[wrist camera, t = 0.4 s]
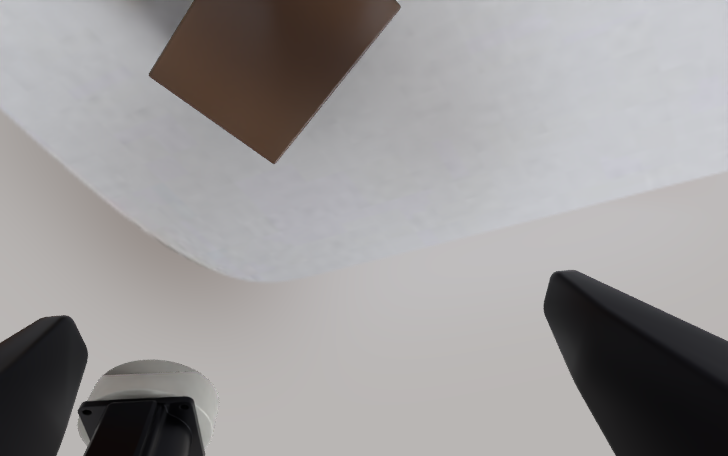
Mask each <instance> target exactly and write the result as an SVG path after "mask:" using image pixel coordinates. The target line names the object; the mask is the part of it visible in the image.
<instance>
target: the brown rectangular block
mask: <svg viewBox="0 0 728 456" xmlns="http://www.w3.org/2000/svg"><path fill="white" fill-rule="evenodd" d="M400 8H401V6H400V4H399V3H398V2H397V1H396V0H194V1H193V3H192V5H191V6H190V8H189V9H188V11H187V13H186V14H185V16H184V18H183V19H182V21H181V22H180V24H179V26H178V27H177V29H176V30H175V32H174V34H173V35H172V37H171V39H170V40H169V42H168V43H167V45H166V47H165V48H164V50H163V52H162V53H161V55H160V56H159V58H158V60H157V61H156V63H155V65H154V66H153V68H152V69H151V71H150V73H149V76H150V77H151V78H152V79H154V80H155V81H156V82H158V83H159V84H161V85H162V86H163V87H165V88H166V89H168V90H169V91H171V92H172V93H173V94H175V95H176V96H178V97H179V98H181V99H182V100H183V101H185V102H186V103H188V104H189V105H190V106H192V107H193V108H195V109H196V110H198V111H199V112H200V113H202V114H203V115H205V116H206V117H208V118H209V119H210V120H212V121H213V122H215V123H216V124H217V125H219V126H220V127H222V128H223V129H225V130H226V131H227V132H229V133H230V134H232V135H233V136H234V137H236V138H237V139H239V140H240V141H242V142H243V143H244V144H246V145H247V146H249V147H250V148H252V149H253V150H254V151H256V152H257V153H259V154H260V155H261V156H263V157H264V158H266V159H267V160H269V161H270V162H271V163H273V164H275V163H276V162H277V161H278V160H279V159H280V157H281V156H282V155H283V154H284V152H285V151H286V150H287V149H288V148H289V146H290V145H291V144H292V143H293V141H294V140H295V139H296V138H297V136H298V135H299V134H300V133H301V131H302V130H303V129H304V128H305V126H306V125H307V124H308V123H309V121H310V120H311V119H312V118H313V116H314V115H315V114H316V113H317V111H318V110H319V109H320V108H321V107H322V105H323V104H324V103H325V102H326V100H327V99H328V98H329V97H330V95H331V94H332V93H333V92H334V90H335V89H336V88H337V87H338V85H339V84H340V83H341V82H342V80H343V79H344V78H345V77H346V75H347V74H348V73H349V72H350V71H351V69H352V68H353V67H354V66H355V64H356V63H357V62H358V61H359V59H360V58H361V57H362V56H363V54H364V53H365V52H366V51H367V49H368V48H369V47H370V46H371V44H372V43H373V42H374V41H375V39H376V38H377V37H378V36H379V34H380V33H381V32H382V31H383V30H384V28H385V27H386V26H387V25H388V23H389V22H390V21H391V20H392V18H393V17H394V16H395V15H396V13H397V12H398V11H399V10H400Z"/></svg>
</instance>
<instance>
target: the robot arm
mask: <svg viewBox="0 0 728 456" xmlns="http://www.w3.org/2000/svg"><path fill="white" fill-rule="evenodd" d="M544 313H545V317H546V319H547V321H548V323H549V326H550V328H551V330H552V332H553V335H554V337H555V339H556V342H557V344H558V346H559V349H560V351H561V353H562V355H563V358H564V360H565V362H566V365H567V367H568V369H569V371H570V373H571V375H572V378H573V380H574V382H575V384H576V386H577V388H578V390H579V391H580V393H581V395H582V397H583V399H584V400H585V402H586V404H587V406H588V407H589V409H590V411H591V413H592V415H593V416H594V418H595V420H596V422H597V423H598V425H599V427H600V429H601V430H602V432H603V434H604V436H605V437H606V439H607V441H608V443H609V445H610V446H611V448H612V450H613V451H614V453H615V455H616V456H728V341H726V340H724V339H722V338H720V337H718V336H715V335H713V334H711V333H709V332H707V331H705V330H703V329H700V328H698V327H696V326H694V325H692V324H690V323H687V322H685V321H683V320H681V319H679V318H677V317H675V316H673V315H670V314H668V313H666V312H664V311H662V310H660V309H657V308H655V307H653V306H651V305H649V304H647V303H645V302H643V301H640V300H638V299H636V298H634V297H632V296H629V295H628V294H625V293H623V292H621V291H619V290H617V289H615V288H613V287H610V286H608V285H606V284H604V283H601V282H600V281H597V280H595V279H593V278H591V277H589V276H587V275H585V274H583V273H580V272H578V271H576V270H566V271H556V272H554V273H553V274H552V275H551V277H550V281H549V285H548V289H547V292H546V296H545V300H544ZM87 358H88V352H87V348H86V345H85V343H84V341H83V339H82V337H81V335H80V333H79V331H78V329H77V327H76V324H75V323H74V321H73V319H72V318H71V317H69V316H65V315H63V316H51V317H44V318H41V319H39V320H37V321H35V322H34V323H32V324H31V325H29V326H27V327H26V328H24V329H22V330H21V331H19V332H17V333H16V334H14V335H12V336H11V337H9V338H8V339H6V340H4V341H3V342H1V343H0V456H56V455H57V452H58V450H59V447H60V445H61V442H62V439H63V436H64V434H65V431H66V428H67V425H68V421H69V418H70V415H71V412H72V409H73V405H74V402H75V399H76V396H77V392H78V389H79V386H80V383H81V380H82V376H83V373H84V370H85V366H86V363H87ZM78 414H79V416H80V419H81V421H82V423H83V426H84V428H85V430H86V433H87V435H88V437H89V440H90V443H89V445H88V447H87V449H86V451H85V453H84V456H205V451H204V446H203V441H202V436H201V432H200V427H199V422H198V417H197V412H196V407H195V403H194V400H193V399H192V398H191V397H188V396H178V397H158V398H138V399H119V400H99V401H85V402H83V403H82V404H81V406H80V408H79V409H78Z"/></svg>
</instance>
